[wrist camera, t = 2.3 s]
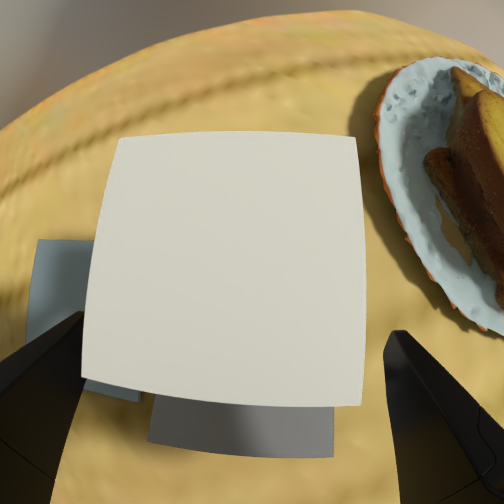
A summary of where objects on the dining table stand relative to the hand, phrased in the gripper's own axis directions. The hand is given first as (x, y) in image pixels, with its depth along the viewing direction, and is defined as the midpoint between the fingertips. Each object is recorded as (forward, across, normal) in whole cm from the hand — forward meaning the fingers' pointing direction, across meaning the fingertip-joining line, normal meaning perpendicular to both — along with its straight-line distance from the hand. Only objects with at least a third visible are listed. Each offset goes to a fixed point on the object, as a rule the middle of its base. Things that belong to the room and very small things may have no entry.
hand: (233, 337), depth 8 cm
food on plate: (+15, -20, -1) cm, 25 cm away
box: (+7, 0, +5) cm, 9 cm away
